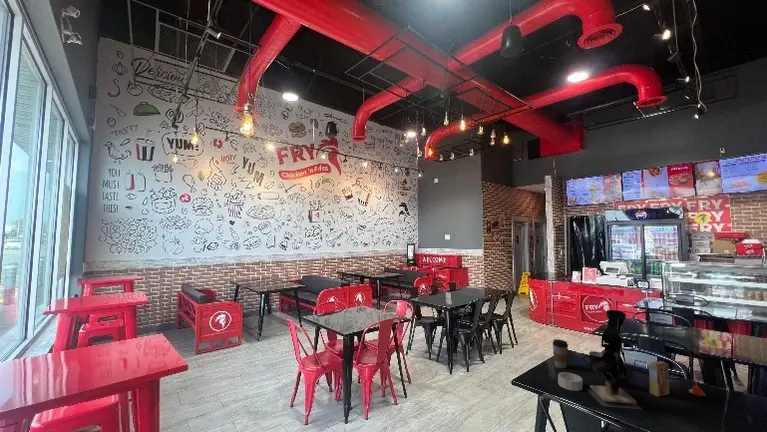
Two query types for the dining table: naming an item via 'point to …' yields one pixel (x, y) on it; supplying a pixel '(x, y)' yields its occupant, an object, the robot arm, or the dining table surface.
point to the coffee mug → (594, 358)
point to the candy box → (659, 378)
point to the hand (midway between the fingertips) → (612, 390)
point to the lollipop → (696, 389)
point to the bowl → (570, 381)
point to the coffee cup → (560, 353)
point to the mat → (612, 404)
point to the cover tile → (613, 397)
